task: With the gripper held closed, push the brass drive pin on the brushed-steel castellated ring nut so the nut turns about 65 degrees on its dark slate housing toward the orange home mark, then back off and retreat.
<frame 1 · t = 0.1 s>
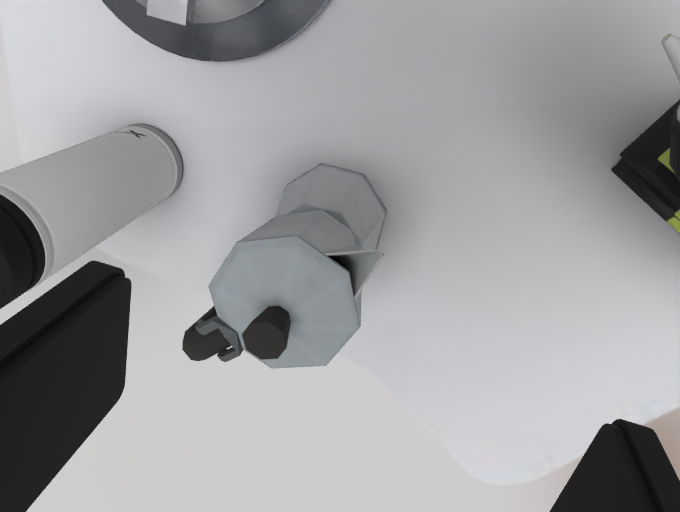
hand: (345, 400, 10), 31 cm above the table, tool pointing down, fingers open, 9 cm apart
travel mug: (147, 160, 44), on the table
cordless drill: (659, 136, 36), on the table
coffee maker: (321, 222, 43), on the table
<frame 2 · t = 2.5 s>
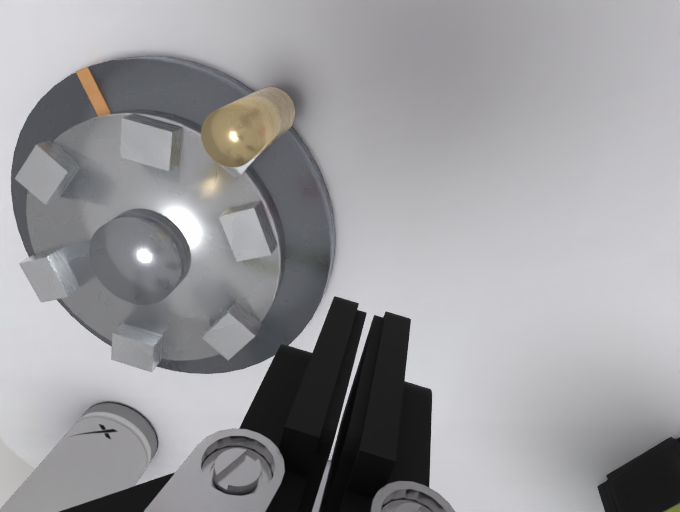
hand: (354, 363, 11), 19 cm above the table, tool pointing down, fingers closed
travel mug: (121, 429, 42), on the table
cordless drill: (648, 463, 35), on the table
housing: (177, 227, 33), on the table
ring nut: (156, 237, 28), point 5 cm above the table, hinge at 0.0°
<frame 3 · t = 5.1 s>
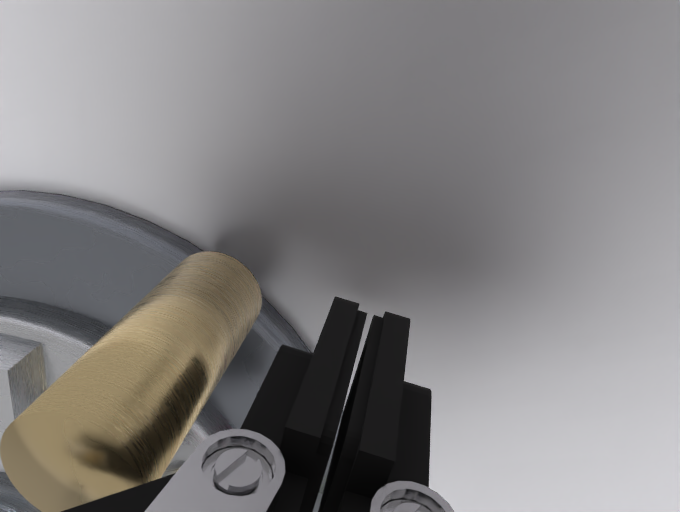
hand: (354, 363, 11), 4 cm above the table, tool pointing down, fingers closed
housing: (89, 450, 20), on the table
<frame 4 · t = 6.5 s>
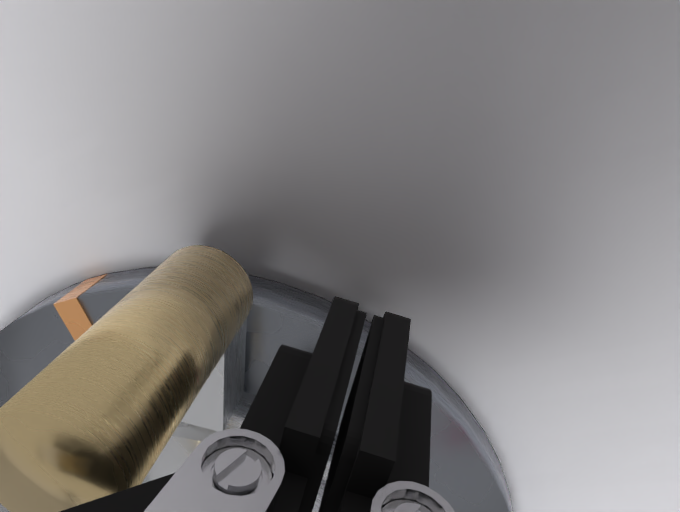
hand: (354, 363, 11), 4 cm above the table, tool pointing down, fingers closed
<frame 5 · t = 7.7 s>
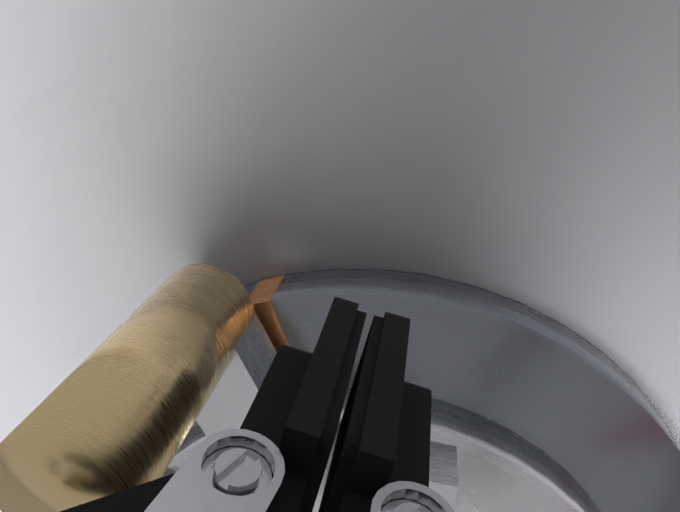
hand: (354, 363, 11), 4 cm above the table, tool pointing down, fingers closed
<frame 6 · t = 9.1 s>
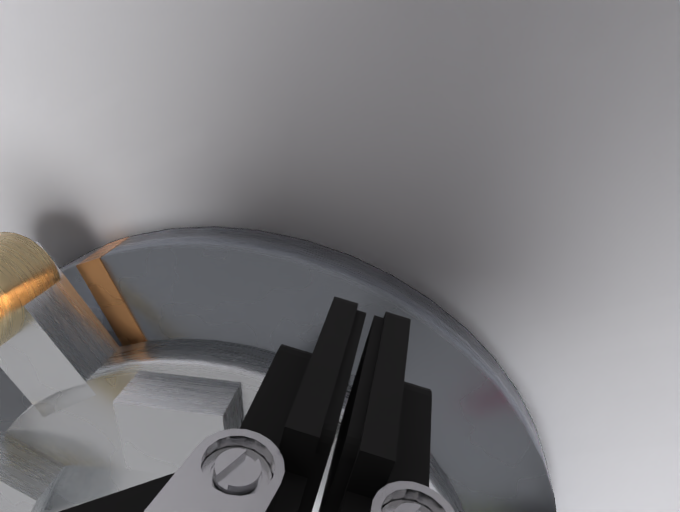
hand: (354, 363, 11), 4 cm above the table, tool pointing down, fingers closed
housing: (253, 488, 19), on the table
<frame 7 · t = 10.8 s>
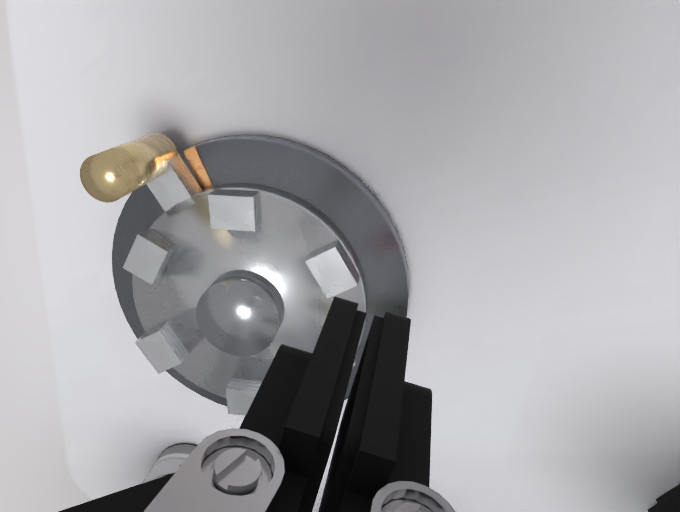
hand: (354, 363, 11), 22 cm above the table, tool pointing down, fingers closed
travel mug: (193, 469, 45), on the table
housing: (261, 282, 37), on the table
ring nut: (218, 289, 32), point 5 cm above the table, hinge at 72.0°
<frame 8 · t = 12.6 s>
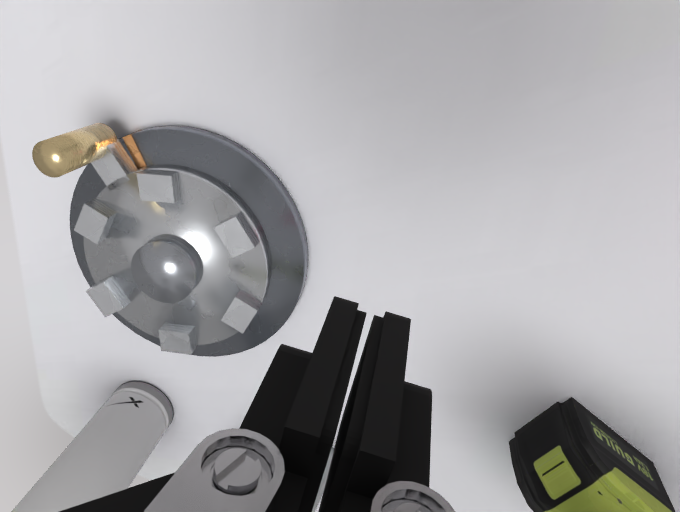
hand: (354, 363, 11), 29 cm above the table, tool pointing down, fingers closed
travel mug: (144, 403, 54), on the table
cordless drill: (544, 423, 46), on the table
housing: (191, 246, 45), on the table
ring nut: (147, 248, 40), point 5 cm above the table, hinge at 72.0°
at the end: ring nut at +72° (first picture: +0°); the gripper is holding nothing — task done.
